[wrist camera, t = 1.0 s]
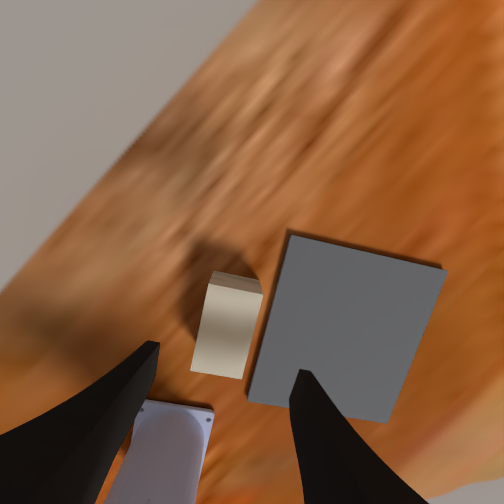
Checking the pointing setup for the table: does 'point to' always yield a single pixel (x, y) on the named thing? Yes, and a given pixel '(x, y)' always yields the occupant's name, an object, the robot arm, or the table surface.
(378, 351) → the charcoal rubber mat
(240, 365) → the birch card box
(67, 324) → the table surface
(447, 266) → the table surface
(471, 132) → the table surface
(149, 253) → the table surface
